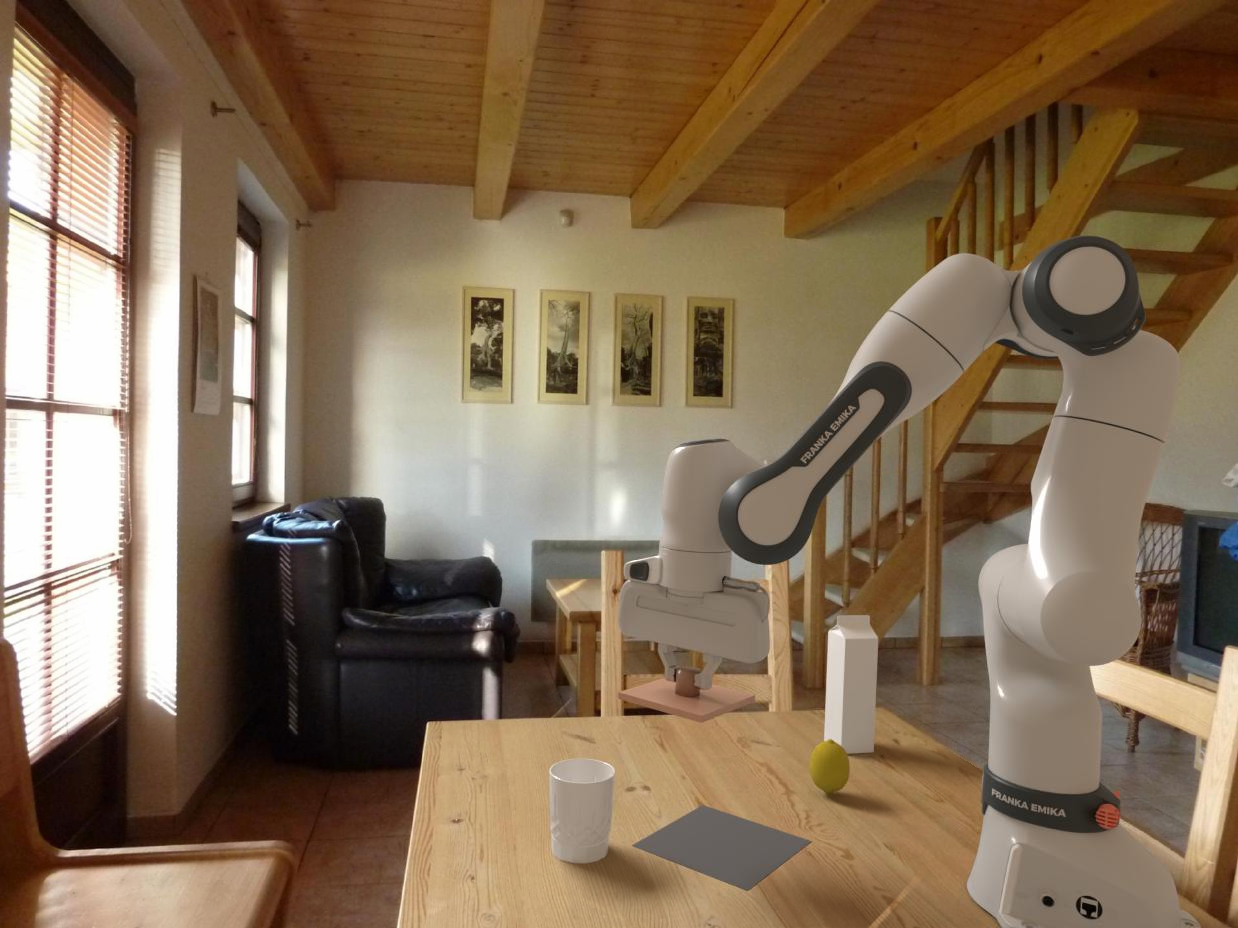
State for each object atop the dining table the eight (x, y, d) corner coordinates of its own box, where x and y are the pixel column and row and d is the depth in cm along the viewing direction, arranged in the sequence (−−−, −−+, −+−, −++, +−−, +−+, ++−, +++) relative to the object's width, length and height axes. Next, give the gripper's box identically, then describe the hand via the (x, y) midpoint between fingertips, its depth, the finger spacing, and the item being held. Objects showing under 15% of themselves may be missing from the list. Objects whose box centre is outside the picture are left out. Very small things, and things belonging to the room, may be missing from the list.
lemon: (849, 804, 121) (852, 747, 120) (808, 800, 122) (811, 743, 122) (847, 789, 126) (849, 735, 126) (808, 785, 127) (810, 731, 127)
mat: (811, 844, 108) (811, 840, 108) (747, 893, 96) (747, 890, 96) (702, 807, 118) (702, 804, 118) (631, 848, 105) (631, 845, 105)
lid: (754, 701, 107) (756, 670, 107) (701, 722, 98) (703, 689, 97) (674, 680, 114) (676, 651, 114) (618, 698, 105) (619, 667, 105)
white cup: (557, 834, 109) (559, 755, 108) (618, 842, 107) (621, 761, 107) (538, 863, 101) (541, 778, 101) (604, 872, 99) (607, 786, 99)
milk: (823, 742, 146) (827, 611, 146) (856, 740, 148) (860, 611, 147) (841, 754, 140) (845, 619, 140) (875, 752, 142) (879, 618, 141)
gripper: (783, 581, 102) (776, 698, 102) (643, 559, 114) (637, 663, 115) (756, 586, 97) (749, 709, 97) (613, 562, 109) (607, 671, 110)
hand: (687, 684), depth 106 cm, fingers closed on lid, 3 cm apart
